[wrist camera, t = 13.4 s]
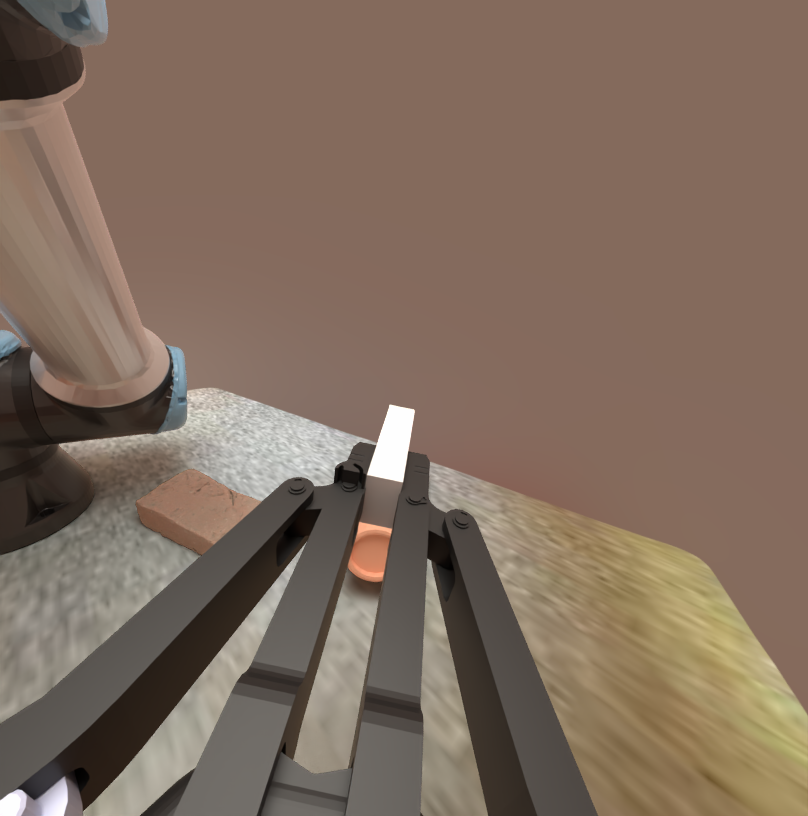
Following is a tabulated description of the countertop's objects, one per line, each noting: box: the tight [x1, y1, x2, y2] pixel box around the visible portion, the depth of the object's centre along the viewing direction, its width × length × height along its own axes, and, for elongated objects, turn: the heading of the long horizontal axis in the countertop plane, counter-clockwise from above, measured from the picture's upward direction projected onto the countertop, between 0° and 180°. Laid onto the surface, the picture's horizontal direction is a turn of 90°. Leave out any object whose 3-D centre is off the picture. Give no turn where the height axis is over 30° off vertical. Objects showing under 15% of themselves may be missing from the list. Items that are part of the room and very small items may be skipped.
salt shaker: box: [348, 522, 392, 582], centre depth 46 cm, size 7×7×19 cm
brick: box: [135, 469, 261, 555], centre depth 44 cm, size 17×8×5 cm, turn 70°
